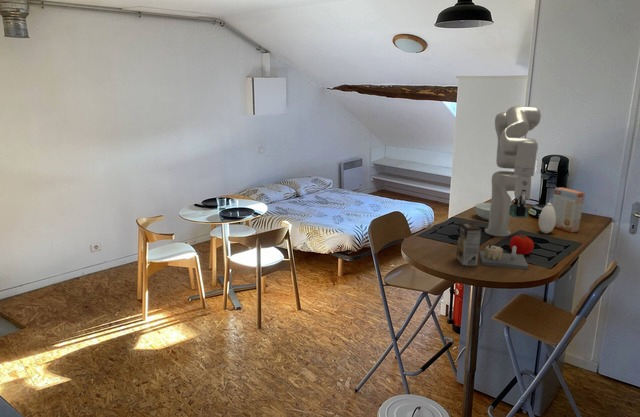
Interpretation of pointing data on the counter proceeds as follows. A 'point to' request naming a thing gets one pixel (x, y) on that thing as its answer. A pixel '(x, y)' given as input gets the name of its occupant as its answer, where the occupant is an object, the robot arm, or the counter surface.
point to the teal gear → (514, 208)
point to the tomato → (522, 244)
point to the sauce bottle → (547, 218)
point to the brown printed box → (468, 244)
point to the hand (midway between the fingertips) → (518, 213)
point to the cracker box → (568, 208)
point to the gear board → (502, 258)
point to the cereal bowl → (483, 210)
